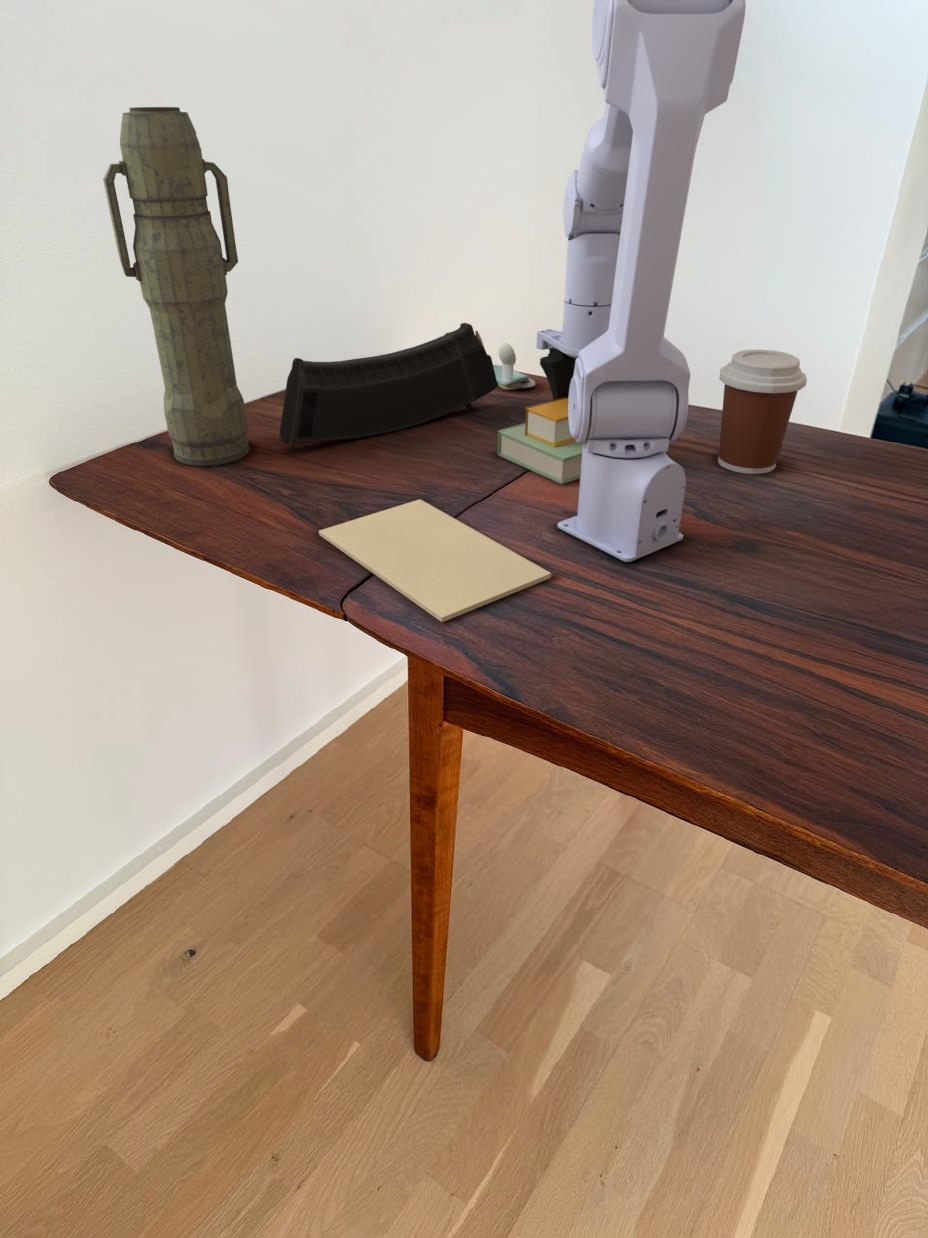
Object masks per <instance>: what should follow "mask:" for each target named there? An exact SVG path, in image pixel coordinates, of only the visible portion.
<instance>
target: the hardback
mask: <svg viewBox="0 0 928 1238" xmlns="http://www.w3.org/2000/svg"><path fill="white" fill-rule="evenodd" d="M496 445H497V447H496V448H497V449H496V455H497V456H499V457H501V458H503V459H505V460H507V461H509V462H512V463H514V464H515V465H519V466H521V467H523V468H525V469H527V470H529V471H531V472H533V473H535V474H538V475H541V476H542V477H545V478H547V479H549V480H551V481H553V482H556V483H558V484H560V485H564V484H567V483H570V482H573V481H577V480H580V476H581V463H582V450H583V443H578V442H576V441H574V442H571V443H568V444H564V445H561V446H558V447H553V446H551V445H548V444H546V443H543V442H541V441H539V440H536V439H534V438H532V437H529V436H527V435H525V422H523V423H520V424H516V425H513V426H509V427H505V428H502V429H498V430H497V444H496Z"/></svg>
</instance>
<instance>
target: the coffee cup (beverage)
mask: <svg viewBox="0 0 928 1238" xmlns="http://www.w3.org/2000/svg"><path fill="white" fill-rule="evenodd" d="M800 365H801V361H800V359H799V358H798V357H797V356H796V355H793V354H791V353H788V352H784V351H779V350H773V349H745V350H739V351H737V352H735V353H733V354H732V356H731V361H730V362H728V363H727V364H726V365H725V366H723V367H721V368H720V370H719V378H718V380H719V381H721V382H722V383H723V385H724V387H723V388H724V389H723V399H722V412H721V424H720V436H719V449H718V456H717V463H718V464H719V465H720V466H721V467H722V468H724V469H726V470H729V471H732V472H736V473H740V474H747V475H757V474H758V475H759V474H766V473H770V472H772V471H774V470H775V469H776V466H777V462H778V458H779V455H780V452H781V449H782V446H783V442H784V438H785V436H786V433H787V428H788V425H789V422H790V419H791V416H792V412H793V409H794V405H795V403H796V402H795V401H796V398H797V395H798V392H799V391H801V390H802V389H804V388H805V387H806V386H807V382H808V378H807V374H806V373H805V372H803V371H802V369H801V368H800Z"/></svg>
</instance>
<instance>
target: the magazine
mask: <svg viewBox="0 0 928 1238" xmlns="http://www.w3.org/2000/svg"><path fill="white" fill-rule="evenodd" d="M493 365H494V363H493V358H492V356H491V355H490V354H488V353H487V351H486V348H485V346H484V342H483V340H482V337H481V335H480V333H479V331H478V330H477V329H476V330H475V331H474V328H473V325H472V324H471V323H468V322H462V323H460V325H459V328H457V329H455V330H453V331H450V332H446V333H445V334H443V335H442V336H439V337H437V338H434V339H432V340H429V341H426V342H423V343H421V344H418V345H415V346H412V347H408V348H404V349H401V350H397V351H394V352H389V353H385V354H384V353H383V354H380V355H374V356H367V357H359V358H352V359H345V360H336V361H335V360H334V361H309V360H303V359H302V358H299V357H294V358H293V360H292V364H291V369H290V371H289V373H288V376H287V379H286V385H285V392H284V400H283V405H282V406H283V407H282V411H281V420H280V425H279V426H280V428H279V431H278V432H279V433H278V437H279V439H280V442H282V443H283V444H285V445H287V446H295V445H298V444H300V445H301V444H309V443H310V444H311V443H323V442H332V441H333V442H334V441H345V440H346V441H347V440H353V439H354V440H355V439H360V438H362V439H363V438H368V437H375V436H380V435H383V434H389V433H393V432H399V431H401V430H405V429H410V428H412V427H415V426H419V425H422V424H425V423H428V422H430V421H433V420H435V419H438V418H440V417H442V416H445V415H447V414H449V413H451V412H454V411H457V410H459V409H461V408H464V407H465V408H466V409H468V410H470V411H472V410H473V409H474V408H473V405H472V404H473V402H476V401H477V400H479V399H481V398H483V397H484V396H486V395H488V394H490V393H491V392H493V391H495V390H496V388H497V387H498V383H497V380H496V376H495V371H494V367H493Z"/></svg>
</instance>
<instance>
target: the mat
mask: <svg viewBox="0 0 928 1238" xmlns="http://www.w3.org/2000/svg"><path fill="white" fill-rule="evenodd" d="M318 534H319V536H320V537H321V538H323V539H324V540H325V541H327V542H328V543H330V544H331V545H333V546H334V547H335V548H337V549H338V550H339V551H341V552H342V553H344V554H345V555H347V556H348V557H349V558H350V559H352V560H354V561H355V562H356V563H358V564H359V565H361V566H362V567H363V568H365V570H368V571H369V572H371V573H372V574H374V575H375V576H376V577H377V578H379V579H381V580H382V581H383V582H384V583H386V584H387V585H389V586H390V587H392V588H393V589H394V590H396V591H397V592H399V594H401V595H403V596H404V597H405V598H407V599H408V600H410V601H411V602H413V603H414V604H415V605H416V606H418V607H419V608H421V609H422V610H424V611H425V612H426V613H428V614H430V615H431V616H432V617H433V618H435V619H436V620H438V621H439V622H441V623H444V622H447V621H449V620H452V619H454V618H457V617H459V616H461V615H464V614H466V613H468V612H472V611H474V610H476V609H478V608H481V607H484V606H486V605H488V604H491V603H493V602H495V601H498V600H500V599H503V598H506V597H507V596H510V595H512V594H515V593H517V592H520V591H523V590H525V589H527V588H530V587H532V586H535V585H538V584H539V583H542V582H545V581H547V580H549V579H551V578H552V573H551V571H548V570H547V569H545V568H543V567H541V566H539V565H538V564H536V563H534V562H532V561H530V560H529V559H527V558H526V557H524V556H521V554H519V553H517V552H515V551H512V550H511V549H509V548H508V547H505V546H504V545H502V544H500V543H498V542H497V541H496V540H493V539H492V538H490V537H488V536H486V535H485V534H483V533H482V532H480V531H478V530H475V529H474V528H472V527H470V526H469V525H466V524H465V523H463V522H461V521H460V520H458V519H456V518H455V517H453V516H451V515H449V514H447V513H446V512H444V511H442V510H441V509H438V508H437V507H435V506H433V505H431V504H430V503H428V502H426V501H424V500H423V499H420V498H419V499H416V500H413V501H410V502H406V503H403V504H400V505H397V506H393V507H390V508H388V509H385V510H380V511H377V512H375V513H371V514H368V515H365V516H362V517H358V518H355V519H352V520H348V521H346V522H343V523H339V524H336V525H333V526H330V527H326V528H323V529H319V530H318Z"/></svg>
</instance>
